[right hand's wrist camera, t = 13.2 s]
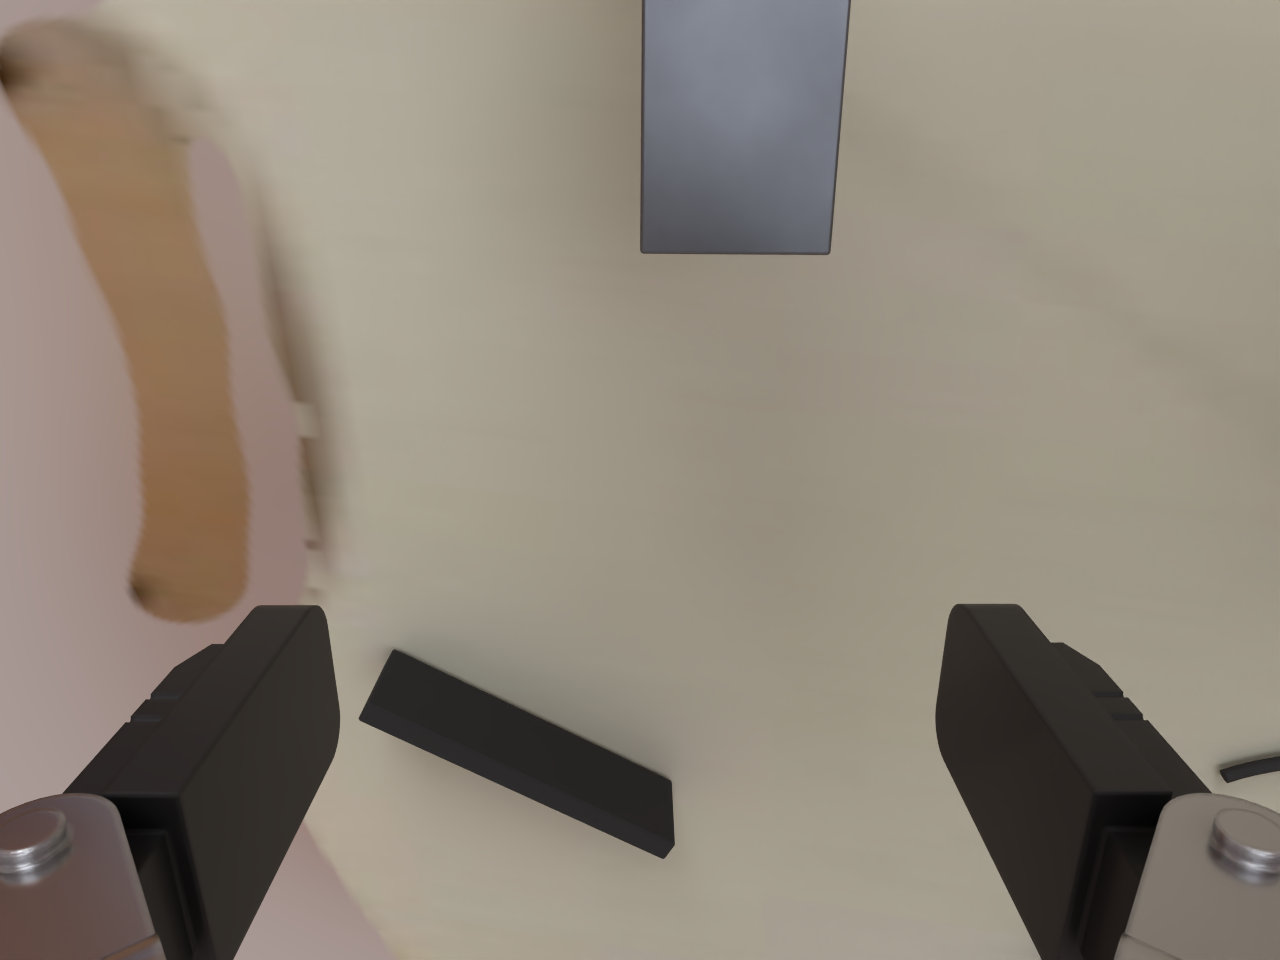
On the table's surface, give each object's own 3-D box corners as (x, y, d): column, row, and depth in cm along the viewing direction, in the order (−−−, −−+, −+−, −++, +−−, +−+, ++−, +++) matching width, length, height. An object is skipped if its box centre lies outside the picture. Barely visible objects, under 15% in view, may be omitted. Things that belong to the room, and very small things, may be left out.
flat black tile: (384, 665, 48) (356, 722, 44) (394, 648, 48) (367, 702, 43) (660, 796, 51) (663, 861, 47) (672, 780, 51) (675, 844, 46)
